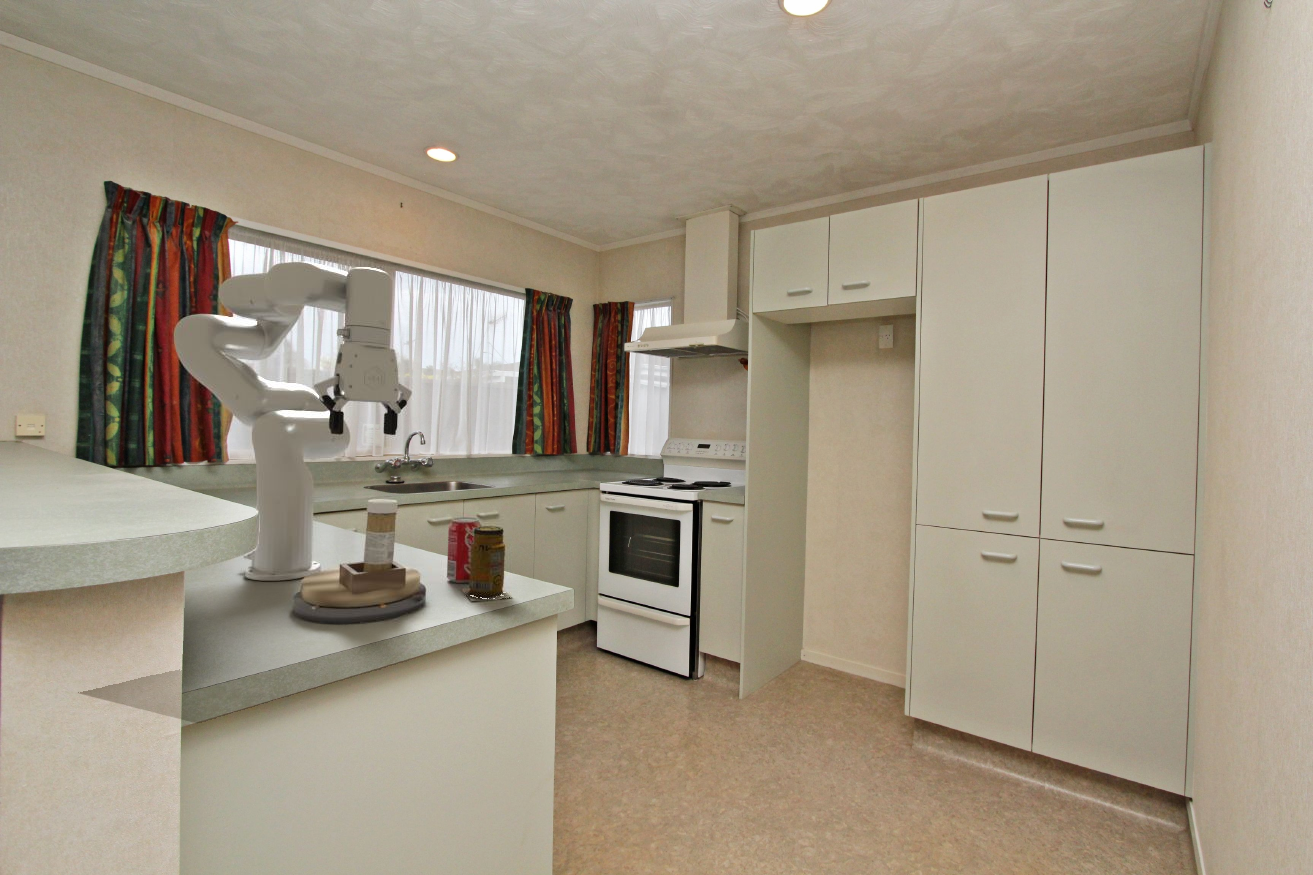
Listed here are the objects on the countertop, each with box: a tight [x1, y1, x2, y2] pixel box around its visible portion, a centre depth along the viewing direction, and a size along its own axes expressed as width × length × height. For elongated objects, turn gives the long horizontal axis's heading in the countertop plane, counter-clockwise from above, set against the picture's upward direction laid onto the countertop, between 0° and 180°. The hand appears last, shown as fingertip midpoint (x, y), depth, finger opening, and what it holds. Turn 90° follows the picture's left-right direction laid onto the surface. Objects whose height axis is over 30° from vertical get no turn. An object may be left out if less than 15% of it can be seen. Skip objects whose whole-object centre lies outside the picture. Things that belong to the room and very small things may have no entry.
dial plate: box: [292, 582, 427, 625], centre depth 103 cm, size 20×20×2 cm
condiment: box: [461, 525, 513, 602], centre depth 112 cm, size 7×8×12 cm
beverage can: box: [446, 516, 482, 584], centre depth 120 cm, size 6×6×12 cm
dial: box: [300, 560, 421, 607], centre depth 103 cm, size 18×18×5 cm
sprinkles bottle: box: [363, 498, 399, 572], centre depth 100 cm, size 5×5×13 cm
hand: (364, 434), depth 111 cm, fingers open, 9 cm apart
